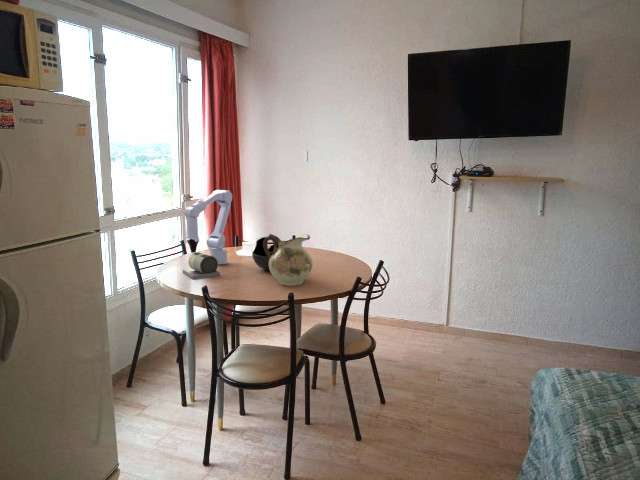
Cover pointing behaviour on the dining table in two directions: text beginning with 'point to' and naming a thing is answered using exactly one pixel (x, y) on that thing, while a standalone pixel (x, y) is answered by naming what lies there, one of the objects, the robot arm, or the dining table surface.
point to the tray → (200, 274)
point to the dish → (247, 249)
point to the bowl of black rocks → (262, 254)
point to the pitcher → (288, 260)
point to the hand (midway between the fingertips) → (193, 252)
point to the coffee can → (203, 263)
